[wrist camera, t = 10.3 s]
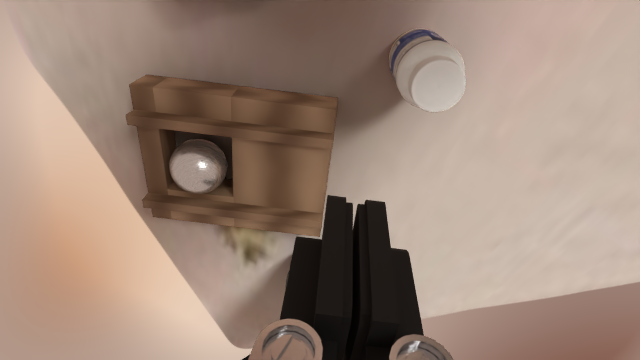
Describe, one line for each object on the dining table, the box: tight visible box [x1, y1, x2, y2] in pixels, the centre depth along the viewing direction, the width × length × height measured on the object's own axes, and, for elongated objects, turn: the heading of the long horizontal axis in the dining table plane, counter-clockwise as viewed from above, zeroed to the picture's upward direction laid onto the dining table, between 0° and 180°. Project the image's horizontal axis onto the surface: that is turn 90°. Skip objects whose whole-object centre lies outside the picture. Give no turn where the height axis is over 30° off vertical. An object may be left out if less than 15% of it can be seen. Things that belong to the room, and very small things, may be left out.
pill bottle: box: [389, 28, 466, 112], centre depth 31 cm, size 5×5×10 cm
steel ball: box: [169, 139, 227, 194], centre depth 39 cm, size 6×6×6 cm
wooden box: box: [126, 75, 338, 237], centre depth 39 cm, size 20×16×5 cm
